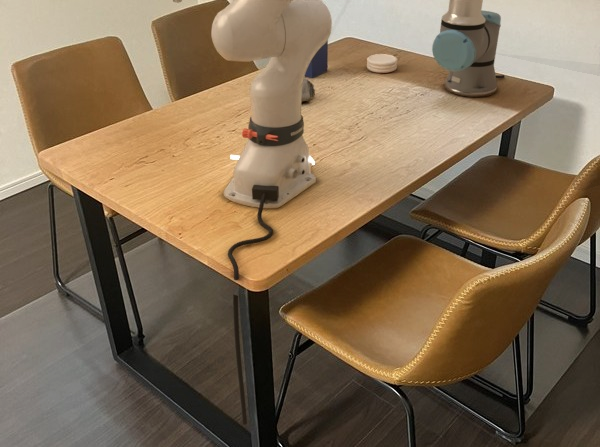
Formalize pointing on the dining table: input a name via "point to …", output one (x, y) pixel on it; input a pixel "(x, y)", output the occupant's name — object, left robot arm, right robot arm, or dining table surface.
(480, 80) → the right robot arm
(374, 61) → the coaster
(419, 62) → the dining table surface
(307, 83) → the rock
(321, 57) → the brick
